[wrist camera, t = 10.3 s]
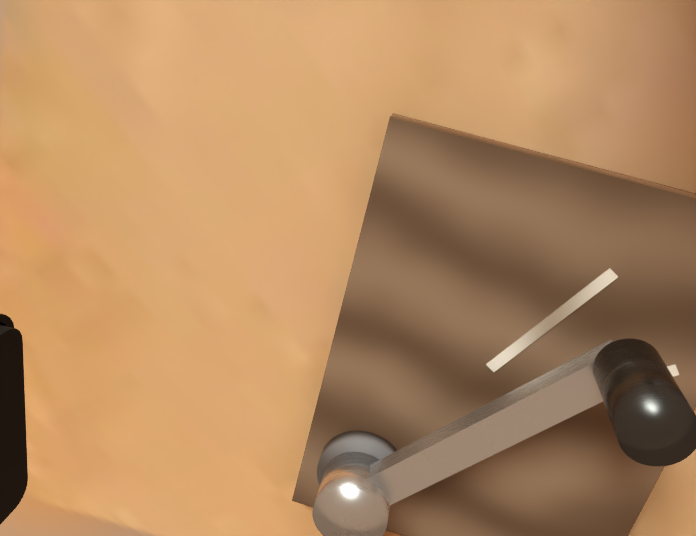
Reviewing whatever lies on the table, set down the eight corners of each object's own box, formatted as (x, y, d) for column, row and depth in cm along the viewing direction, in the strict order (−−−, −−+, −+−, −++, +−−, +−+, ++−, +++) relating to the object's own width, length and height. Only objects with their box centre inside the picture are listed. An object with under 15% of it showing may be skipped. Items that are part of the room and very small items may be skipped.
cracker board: (393, 113, 32) (387, 120, 30) (777, 215, 31) (802, 231, 28) (297, 484, 41) (287, 511, 39) (591, 576, 40) (599, 610, 38)
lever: (625, 300, 31) (669, 376, 24) (668, 364, 31) (722, 455, 25) (310, 470, 37) (276, 566, 31) (351, 519, 38) (327, 624, 31)
